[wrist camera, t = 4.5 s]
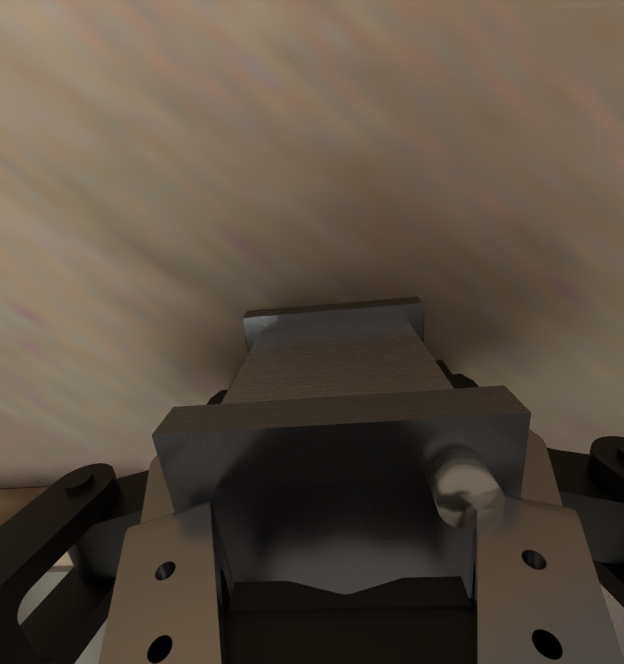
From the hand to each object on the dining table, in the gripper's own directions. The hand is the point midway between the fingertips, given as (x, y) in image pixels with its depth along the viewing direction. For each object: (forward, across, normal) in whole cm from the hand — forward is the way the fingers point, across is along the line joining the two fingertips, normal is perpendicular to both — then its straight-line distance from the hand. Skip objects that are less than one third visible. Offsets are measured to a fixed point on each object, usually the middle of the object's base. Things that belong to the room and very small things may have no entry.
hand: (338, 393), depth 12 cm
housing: (+1, 0, 0) cm, 1 cm away
